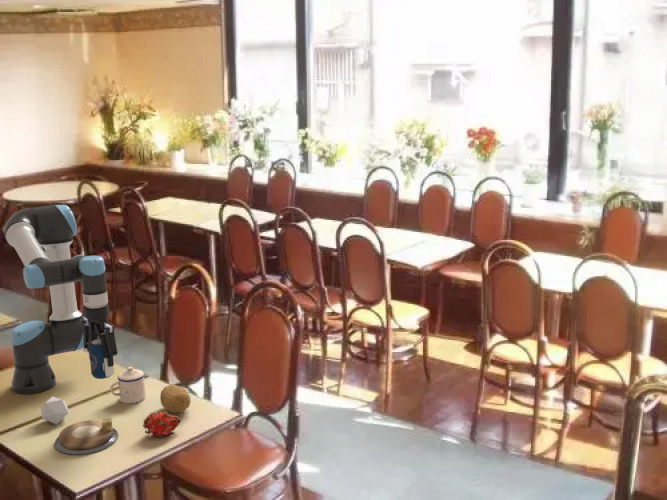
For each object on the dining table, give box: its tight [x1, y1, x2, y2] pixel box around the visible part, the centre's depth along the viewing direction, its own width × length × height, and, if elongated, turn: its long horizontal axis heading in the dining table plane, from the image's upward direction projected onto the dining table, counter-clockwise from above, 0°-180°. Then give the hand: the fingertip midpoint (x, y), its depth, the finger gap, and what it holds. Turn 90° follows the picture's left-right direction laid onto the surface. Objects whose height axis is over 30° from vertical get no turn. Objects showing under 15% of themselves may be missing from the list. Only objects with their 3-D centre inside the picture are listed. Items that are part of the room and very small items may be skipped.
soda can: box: [88, 337, 111, 380], centre depth 261 cm, size 7×7×12 cm
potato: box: [159, 384, 191, 414], centre depth 272 cm, size 10×14×8 cm
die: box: [40, 395, 69, 425], centre depth 266 cm, size 8×9×10 cm
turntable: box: [58, 417, 114, 450], centre depth 253 cm, size 16×16×5 cm
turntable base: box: [54, 427, 119, 456], centre depth 253 cm, size 19×19×1 cm
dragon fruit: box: [142, 410, 181, 439], centre depth 255 cm, size 8×8×12 cm
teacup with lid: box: [109, 366, 146, 404], centre depth 281 cm, size 12×9×12 cm
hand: (102, 372), depth 262 cm, fingers closed on soda can, 7 cm apart
